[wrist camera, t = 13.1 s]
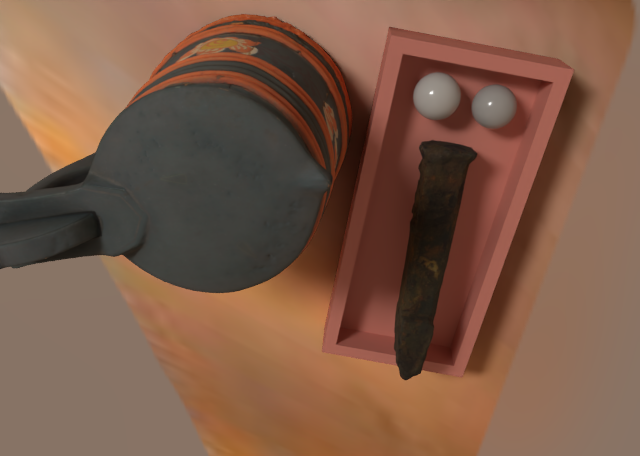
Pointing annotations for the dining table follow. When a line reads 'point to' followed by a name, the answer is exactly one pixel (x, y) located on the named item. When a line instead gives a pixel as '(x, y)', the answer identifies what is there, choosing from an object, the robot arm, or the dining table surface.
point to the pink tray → (401, 184)
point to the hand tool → (428, 249)
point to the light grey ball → (437, 96)
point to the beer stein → (201, 165)
